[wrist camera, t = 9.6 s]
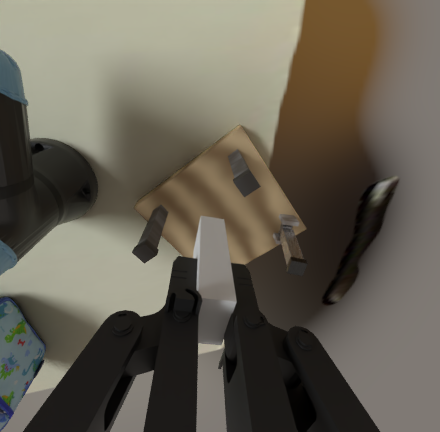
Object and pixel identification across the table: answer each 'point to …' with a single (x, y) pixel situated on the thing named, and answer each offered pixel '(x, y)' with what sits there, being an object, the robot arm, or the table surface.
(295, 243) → the hinged leg
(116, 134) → the table surface
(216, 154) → the stool top
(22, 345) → the lunch box
